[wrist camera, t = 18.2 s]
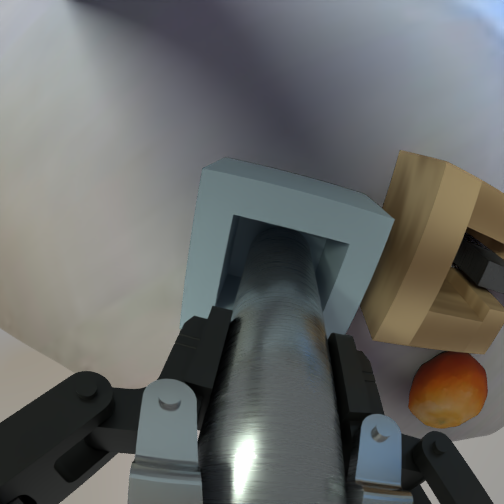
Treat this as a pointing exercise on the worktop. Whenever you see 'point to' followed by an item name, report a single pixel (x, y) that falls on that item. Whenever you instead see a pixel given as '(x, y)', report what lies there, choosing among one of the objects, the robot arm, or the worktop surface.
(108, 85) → the worktop surface
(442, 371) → the fruit
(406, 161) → the socket block
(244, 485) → the peg
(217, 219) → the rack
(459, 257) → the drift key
